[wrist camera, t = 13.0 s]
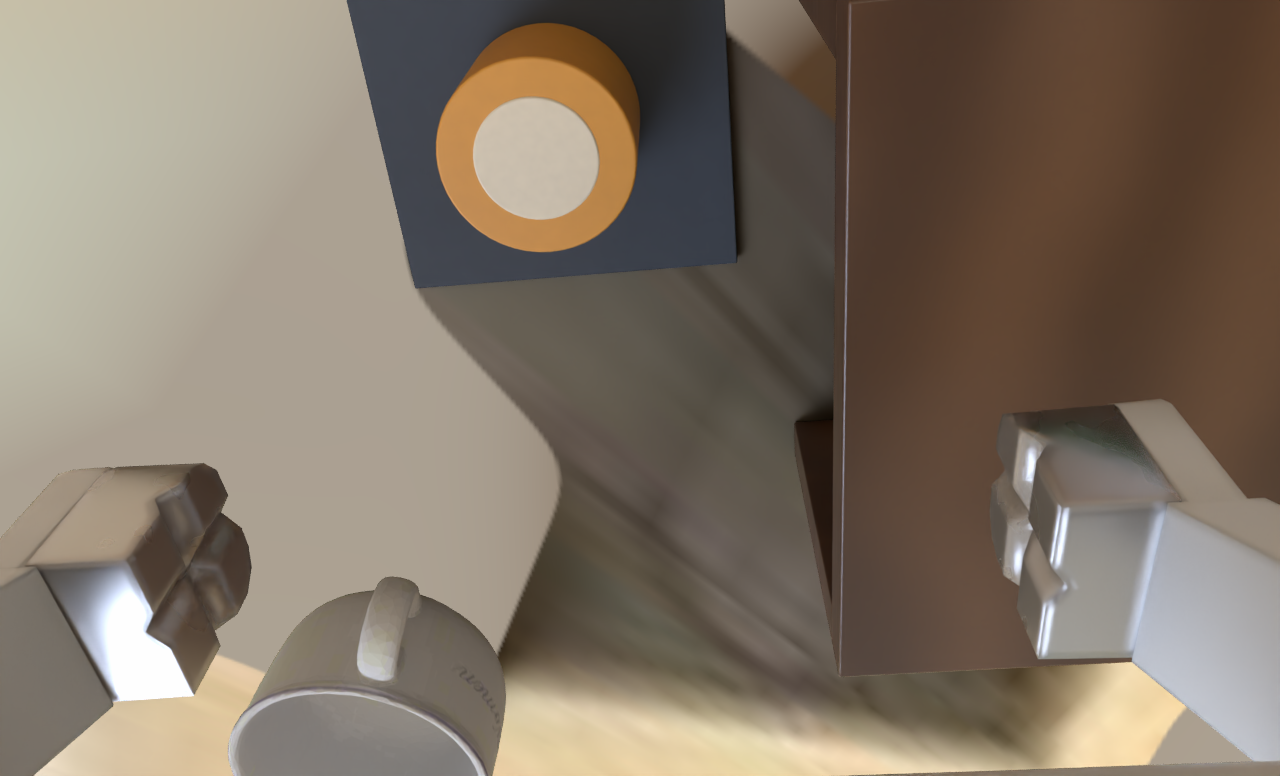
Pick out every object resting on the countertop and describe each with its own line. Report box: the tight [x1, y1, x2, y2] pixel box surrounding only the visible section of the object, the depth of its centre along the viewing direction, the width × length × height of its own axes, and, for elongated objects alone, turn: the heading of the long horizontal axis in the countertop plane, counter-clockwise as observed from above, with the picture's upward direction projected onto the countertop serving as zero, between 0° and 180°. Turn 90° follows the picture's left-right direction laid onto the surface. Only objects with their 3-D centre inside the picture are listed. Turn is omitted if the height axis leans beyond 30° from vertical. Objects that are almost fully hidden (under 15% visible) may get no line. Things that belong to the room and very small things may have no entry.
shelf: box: [794, 0, 1280, 677], centre depth 30 cm, size 14×20×12 cm
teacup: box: [228, 577, 506, 776], centre depth 43 cm, size 14×11×8 cm
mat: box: [347, 0, 737, 288], centre depth 33 cm, size 12×12×1 cm
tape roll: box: [436, 23, 640, 252], centre depth 31 cm, size 6×6×5 cm
